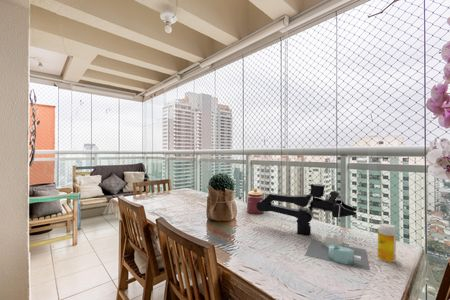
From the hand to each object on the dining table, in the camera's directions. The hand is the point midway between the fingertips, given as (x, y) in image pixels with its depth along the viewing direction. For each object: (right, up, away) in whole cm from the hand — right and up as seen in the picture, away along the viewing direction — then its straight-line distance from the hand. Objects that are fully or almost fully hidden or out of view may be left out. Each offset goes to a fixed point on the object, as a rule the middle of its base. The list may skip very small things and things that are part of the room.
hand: (356, 211), depth 109 cm
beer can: (+3, -17, -16) cm, 23 cm away
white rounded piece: (-13, -16, -4) cm, 21 cm away
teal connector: (-16, -16, -18) cm, 28 cm away
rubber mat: (-15, -16, -10) cm, 24 cm away
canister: (-43, -16, +56) cm, 72 cm away
